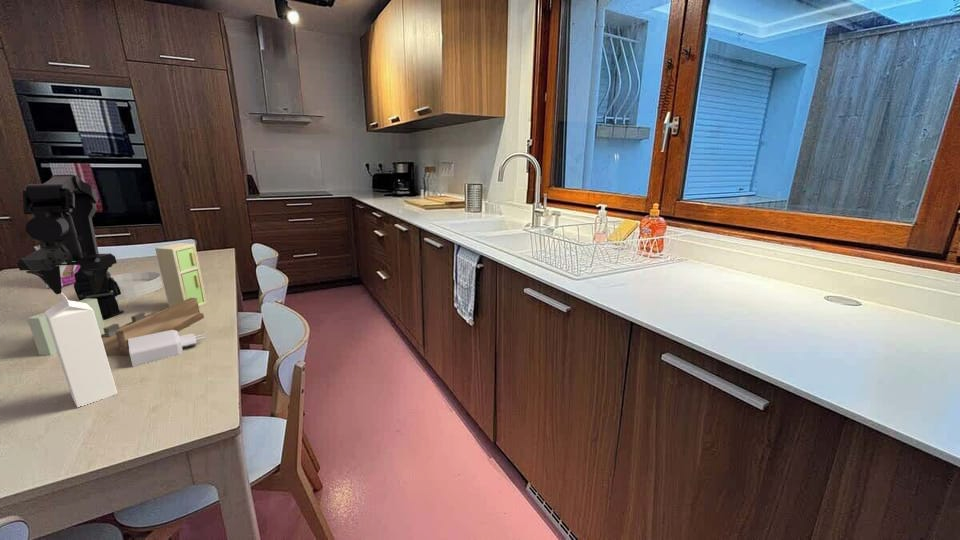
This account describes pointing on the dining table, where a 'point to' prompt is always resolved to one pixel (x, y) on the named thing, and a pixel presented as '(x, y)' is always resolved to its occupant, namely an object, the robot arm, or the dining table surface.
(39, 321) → the door panel
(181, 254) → the toy refrigerator
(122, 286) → the dish
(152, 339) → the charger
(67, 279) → the candy bar box
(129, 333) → the cabinet base
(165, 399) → the dining table surface
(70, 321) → the milk
